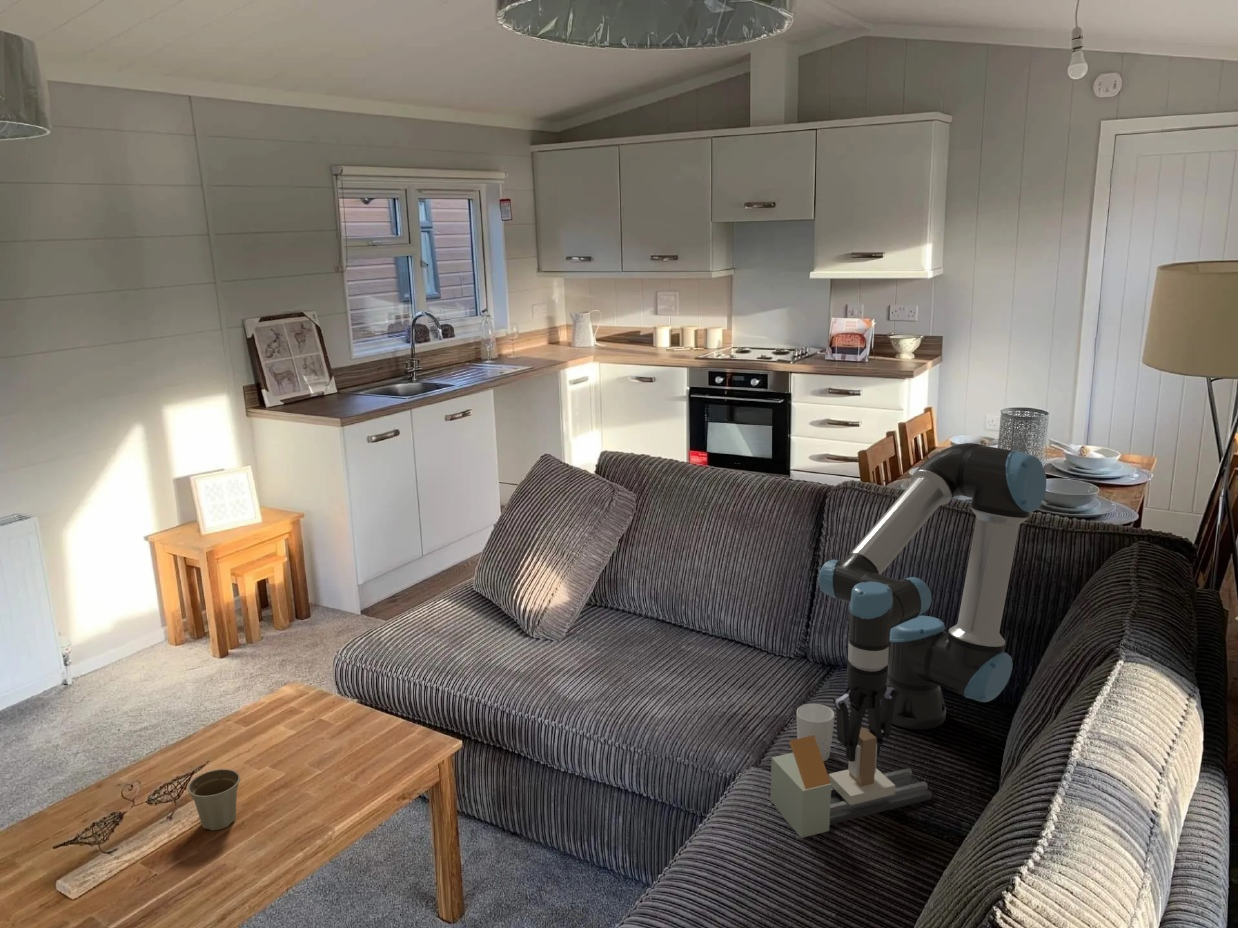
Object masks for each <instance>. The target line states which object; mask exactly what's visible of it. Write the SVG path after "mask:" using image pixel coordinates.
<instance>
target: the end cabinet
mask: <svg viewBox="0 0 1238 928" xmlns="http://www.w3.org/2000/svg"><path fill="white" fill-rule="evenodd" d="M770 761H771V765H770V766H771V767H770V771H771V772H770V801H771V802H772V803H773V804H774V805H775V807H776V808H777V809H778V810H777V809H776V808H775V807H774V808H775V809H776V810H777V812H778V811H779V812H780V813H781V814H782V815H781V814H780V813H779V812H778V813H779V814H780V815H781V816H782V817H783V818H784V820H785V821H786V822H787V823H788V825H789V826H790V827H791V828H792V829H793V830H794V832H795V833H796V834H797V835H798V836H799V837H800V839H803V838H806V837H810V836H811V837H812V836H814V835H817V834H823V833H826V832H829V831H830V825H829V824H830V802H831V783H830V784H826V785H822V786H818V787H814V788H809V789H805V787H804V784H803V781H802V778H801V775H800V772H799V769H798V766H797V763H796V760H795V757H794V754H793V752H790V753H785V754H781V755H776V756H772V757H771V760H770ZM771 802H770V803H771Z"/></svg>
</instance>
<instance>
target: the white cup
mask: <svg viewBox="0 0 1238 928" xmlns="http://www.w3.org/2000/svg"><path fill="white" fill-rule="evenodd" d="M834 724H835V712H834V710H833V709H832V708H830V707H829V706H827V705H824V704H821V703H820V704H818V703H805V704H801V705H800V706H799V707H797V709H796V737H797V738H796V739H799V738H803V737H808V736H812V735H814V736H815V739H816V742H817V745H818V748H819V751H820V754H821V756H822V759H823V762H826V761H828V760H829V759H830V756H831V747H832V742H833V734H834Z"/></svg>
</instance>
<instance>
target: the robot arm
mask: <svg viewBox="0 0 1238 928" xmlns="http://www.w3.org/2000/svg"><path fill="white" fill-rule="evenodd" d="M910 479H911V480H910V481H911V483H910V484H909V485H908V486H907V488H906V489H905V490H904V491H903V492H902V494H901V495H899V497H898V498H897V499H896V500H895V501H894V503H893V504H892V505H891V506H890V507H889V508H888V510H887V511H886V512H885V513H884V514H883V515H882V516H881V517H880V518H879V520H878V521H877V522H876V523H875V524H874V525H873V527H872V528H871V529H870V530H869V531H868V532H867V534H866V535H865V536H864V537H863V538H862V539H861V540H860V542H859V543H858V544H857V545H855V547H854V548H853V550H851V551H850V553H849V554H848V555H847V556H846V557H845V559H843V560H840V559H830V560H828V561H826V562H825V563H824V564H823V565H822V567H821V568H820V570H819V574H818V580H817V582H818V586H819V589H820V590H821V591H822V593H824V594H825V595H827V596H829V597H832V598H834V599H836V600H837V601H843V602H845V603H848V604H849V605H848V606H849V607H848V608H849V634H848V646H847V647H848V648H847V649H848V651H847V653H848V654H847V660H848V661H847V664H846V665H847V667H846V680H847V687H846V689H845V692H844V693H845V694H843V695H841V696H840V697H838V696H834V697H833V699H832V702H833V703H834V706H835V711H836V712H835V713H836V714H835V715H836V734H837V736H836V737H837V739H836V740H837V741H838V742H839V743H840V744H841V745H842V746H844V747H845V749H846V750H845V757H846V759H847V760H848V763H847V764H848V767H847V770H848V771H849V772H850V773H851V774H852V775H853V776H854V777H855V778H858V777H859V772H860V754H861V747H860V746H859V745H858V740H859V734H860V729H861V728H862V723H863V719H864V716H866V712H867V718H868V719H867V721H868V728H869V730H868V731H869V732H870V733H872V734H873V735H874V736H875V737H876V738H877V739H876V756H875V773H876V768H877V757H878V756H880V753H881V745H882V744H884V742H885V739H884V738H889V737H890V736H891V729H892V725H894V726H897V727H901V728H904V729H910V730H929V729H934V728H937V727H939V726H941V725H942V724H944V722H945V721H946V717H947V716H946V714H947V707H946V704H945V700H944V695H943V691H942V688H945V689H946V690H948V691H952V692H954V693H957V694H958V695H960V696H963V697H964V698H966V699H971V700H974V701H977V702H981V703H989V702H991V701H993V700H994V699H996V698H997V697H998V696H999V695H1000V694H1001V693H1002V691H1004V689H1005V687H1006V685H1007V684H1008V682H1009V680H1010V677H1011V675H1012V671H1013V666H1014V665H1013V658H1012V656H1011V655H1009V654H1008V653H1007V652H1005V645H1006V640H1005V639H1004V638H1003V636H1002V635H1001V633H1000V630H1001V625H1002V620H1003V614H1004V609H1005V605H1006V604H1005V603H1006V599H1007V594H1008V593H1007V592H1008V588H1009V581H1010V577H1011V571H1012V568H1013V567H1012V566H1013V561H1014V556H1015V549H1016V544H1017V539H1018V533H1019V528H1020V525H1021V524H1023V523H1024V522H1025V521H1027V520H1028V519H1029V518H1030V514H1031V512H1035V511H1037V510H1038V509H1039V508H1040V507H1041V505H1042V501H1044V499H1045V498H1046V497H1045V496H1046V491H1047V475H1046V469H1045V468H1044V466H1043V463H1042V462H1041V460H1040V459H1039V458H1038V457H1037V456H1034V455H1033V454H1029V453H1025V452H1022V451H1019V450H1014V449H1013V450H1012V449H1007V448H1000V447H993V446H988V445H982V444H979V443H974V442H963V443H959V444H956V445H955V444H954V445H951V446H949V447H947V448H944V449H943V450H941V451H938V452H937V453H935V454H934V455H932V456H930V457H928V459H927V460H925V461H924V462H923V463H922V464H920V466H919V467H918V468H917V469H916V470H915V471H914V473H913V474H912V475H911V477H910ZM959 496H962V497H966V498H970V499H971V503H970V510H971V511H972V512H973V514H974V515H975V519H976V520H975V523H974V530H973V536H972V540H971V546H970V551H969V558H968V564H967V568H966V575H965V580H964V585H963V591H962V596H961V603H960V609H959V613H958V620H957V622H956V624H955V625H953V626H952V627H950V628H949V629H948V632H946V631H945V630H946V626H945V622H943V620H941V619H939V618H937V617H935V616H928V615H922V614H924V613H925V612H927V611H928V610H929V609H930V607H931V604H932V592H931V590H930V588H929V586H928V585H927V583H926V582H925V581H923V580H922V579H921V578H918V577H916V576H915V577H914V576H911V577H907V578H906V577H904V578H901V579H896V578H893V577H889V576H887V575H883V573H884V571H886V569H887V568H888V567H889V566H890V564H892V562H893V561H894V560H895V559H896V557H897V556H898V555H899V554H900V552H902V551H903V549H904V548H905V547H906V546H907V544H909V542H910V541H911V540H912V539H913V538H914V536H915V535H916V534H917V533H918V532H919V530H921V528H922V527H923V526H924V524H925V523H926V522H927V521H928V520H929V519H930V518H931V516H932V515H933V514H934V513H935V512H936V511H937V509H938V508H939V507H940V506H945V505H947V504H948V503H949V502H950V501H951V500H952V499H953V498H954V497H959ZM941 687H942V688H941ZM849 702H850V704H849ZM849 710H850V713H849Z"/></svg>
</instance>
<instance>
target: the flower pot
mask: <svg viewBox="0 0 1238 928" xmlns="http://www.w3.org/2000/svg"><path fill="white" fill-rule="evenodd" d="M240 781H241V774H240V773H239V772H238V771H236V770H234V769H231V768H219V769H218V768H217V769H214V770H209V771H205V772H203V773H200V774H199V775H197V776H196V777H194V778H193V779H191V781H189V783H188V785H187V792H188V793H189V795H190V796H191V798H192V800H193V801H194V803H195V807H196V810H197V813H198V814H197V815H198V816H199V821H200V824H201V826H202V828H203V829H205V830H206V829H207V830H210V831H219V830H221V829H225V828H227V827H229V826H230V825H231V824H232V823H233V822H235V820H236V819H237V796H238V795H237V794H238V789H239V783H240Z"/></svg>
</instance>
